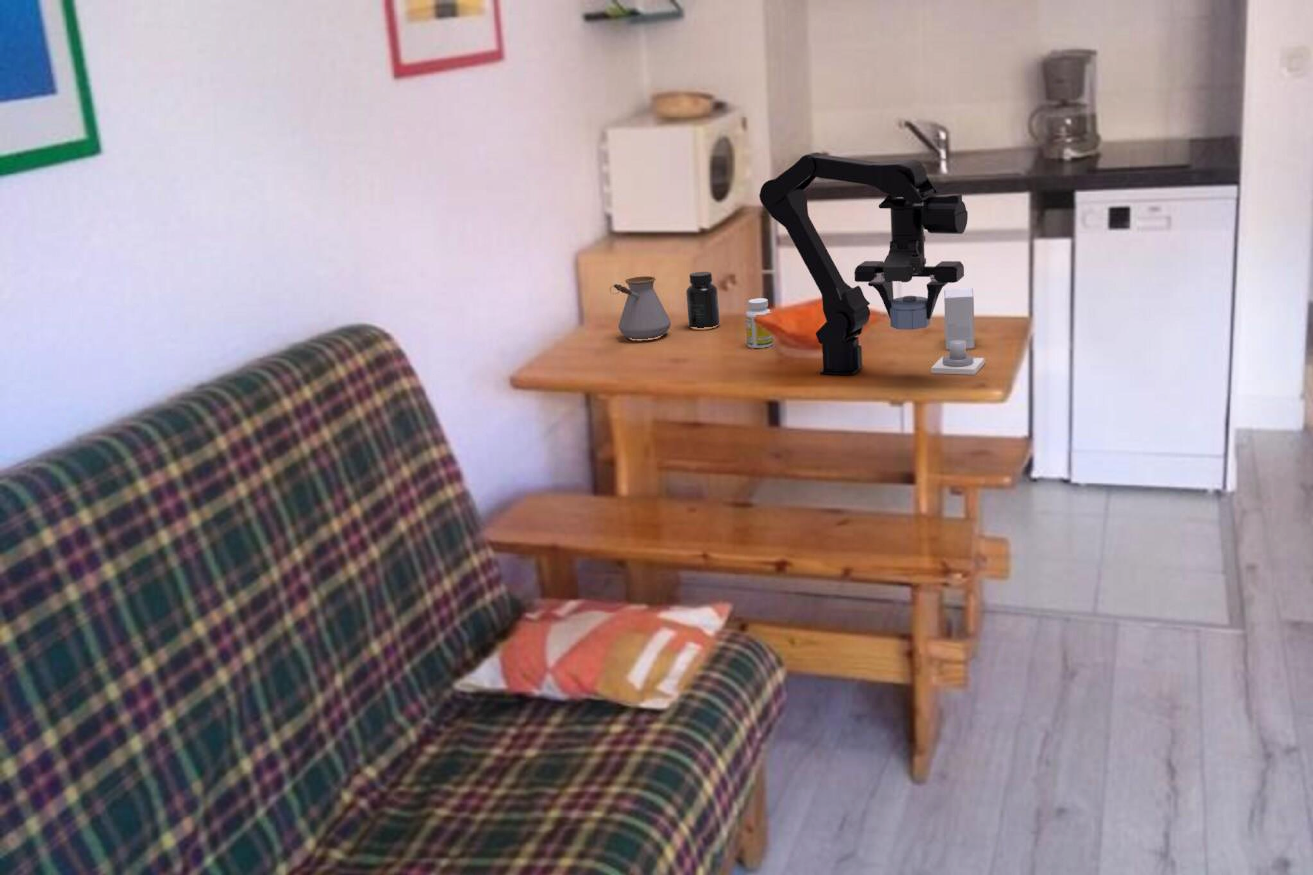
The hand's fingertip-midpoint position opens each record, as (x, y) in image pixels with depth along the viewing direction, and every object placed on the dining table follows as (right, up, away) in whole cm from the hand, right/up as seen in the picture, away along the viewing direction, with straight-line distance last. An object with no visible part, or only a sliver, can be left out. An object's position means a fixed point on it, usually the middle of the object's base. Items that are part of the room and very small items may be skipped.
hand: (910, 318), depth 249 cm
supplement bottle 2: (-24, -3, +35) cm, 43 cm away
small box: (+14, -4, +22) cm, 27 cm away
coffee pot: (-50, -1, +46) cm, 68 cm away
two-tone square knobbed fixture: (+10, -9, +6) cm, 15 cm away
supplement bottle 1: (-35, +3, +55) cm, 66 cm away
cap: (0, -1, 0) cm, 1 cm away
